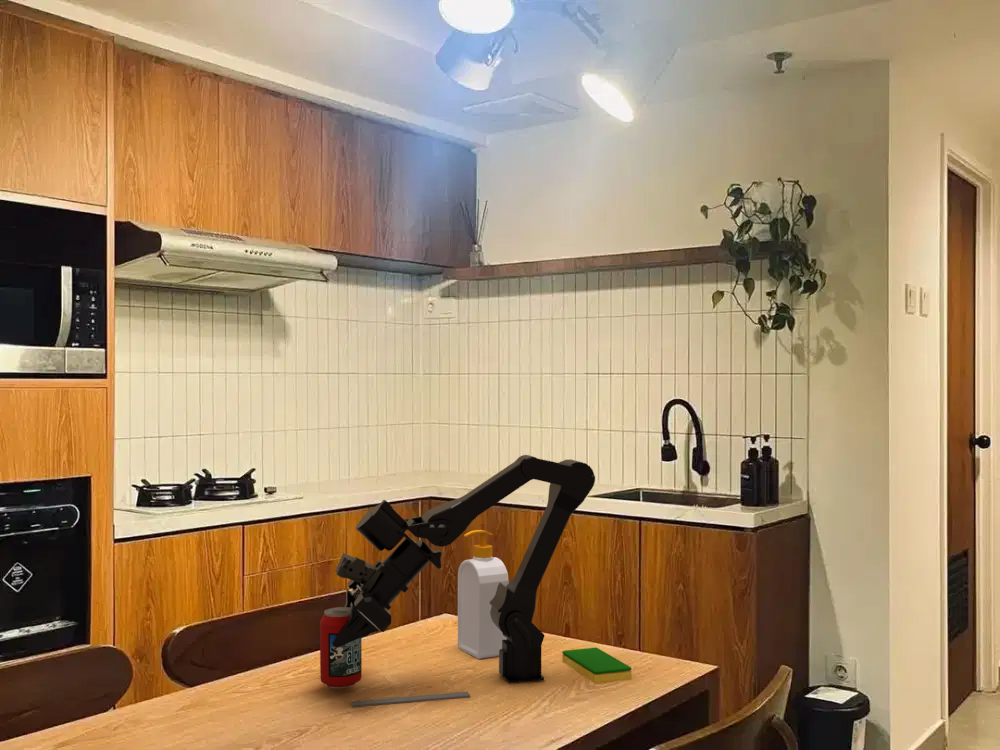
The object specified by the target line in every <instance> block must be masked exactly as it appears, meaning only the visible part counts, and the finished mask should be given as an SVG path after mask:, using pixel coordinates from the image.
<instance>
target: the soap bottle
mask: <svg viewBox="0 0 1000 750" xmlns="http://www.w3.org/2000/svg"><path fill="white" fill-rule="evenodd" d="M476 534H479V544H474V545H473V556H472V558H471V559H470V558H469V559H465V560H463V561H462V562H461V563H460V565H459V567H458V571H457V647H458V649H459V650H461V651H463V652H465V653H466V654H468V655H470V656H472V657H474V658H475V659H477V660H481V659H488V658H493V657H494V658H495V657H499V650H500V649H502V640H506V639H507V638H506V637H505V636H503V634H502V632H501V631H500V629H499V628H498V627H497V626H496V625H495V624H494V623H493V621H492V618H491V615H490V611H491V607H492V606H491V605H490V603H489V602H490V601H491V600H492V599H493V598H494V596H495V594H496V591H497V587H498V585H499V583H502V584H503V585H505V586H507V585H508V584H509V583H510V580H509V574H508V573H509V572H508V570H507V568H506V565H505V564H504V562H503V561H502V560H501V559H500V558H498V557H495V556H494V557H493V545H491V544H487V535H489V536H493V533H492V532H490V531H487V530H483V529H475V530H470V531H469V532H467V533H465V534H463V536H464V538H468V537H471V536H472V535H476Z"/></svg>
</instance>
